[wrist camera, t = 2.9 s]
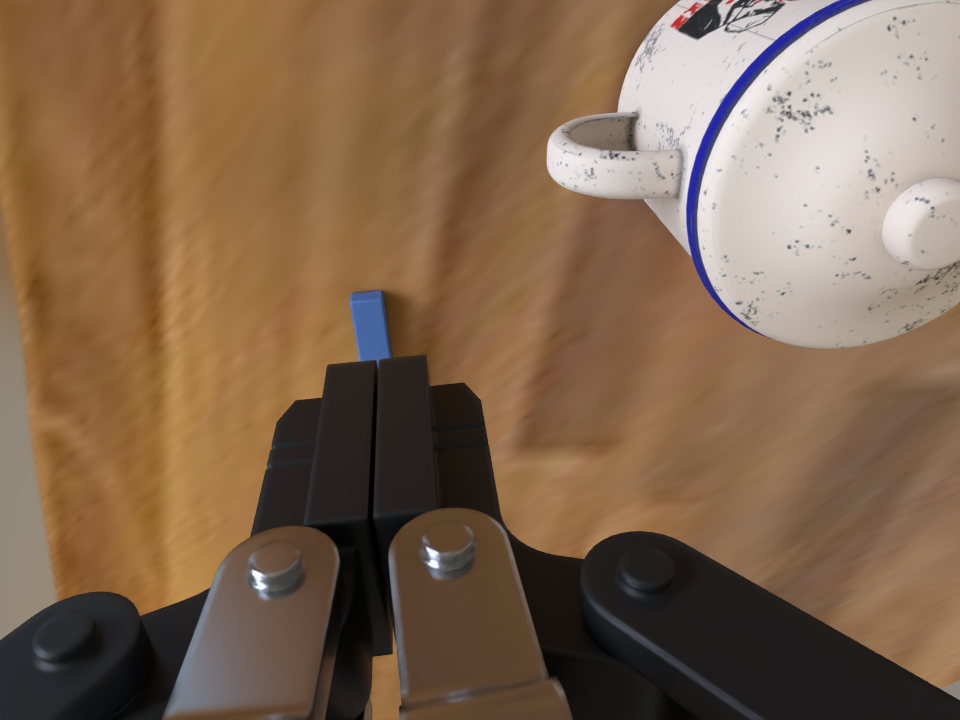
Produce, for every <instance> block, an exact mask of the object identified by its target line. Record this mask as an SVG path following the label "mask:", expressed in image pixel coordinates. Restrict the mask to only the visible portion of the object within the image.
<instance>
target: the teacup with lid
mask: <svg viewBox="0 0 960 720" xmlns="http://www.w3.org/2000/svg"><path fill="white" fill-rule="evenodd" d="M547 167H548V171H549V173H550V175H551V177H552V178H553V179H554V180H555V181H556V182H557V183H558V184H560V185H561V186H563V187H565V188H566V189H569V190H571V191H574V192H577V193H581V194H585V195H589V196H595V197H601V198H611V199H643V200H644V201H645V202H646V203H647V204H648V206H649V207H650V208H651V209H652V210H653V212H654V213H655V214H656V215H657V216H658V218H659V219H660V220H661V221H662V222H663V224H664V225H665V226H666V227H667V228H668V230H669V231H670V232H671V233H672V235H673V236H674V237H675V238H676V239H677V241H678V242H679V243H680V244H681V245H682V247H683V248H684V249H685V250H686V251H687V253H688V254H689V255H690V256H691V257H692V259H693V261H694V264H695V267H696V270H697V272H698V274H699V276H700V278H701V280H702V282H703V284H704V286H705V287H706V289H707V290H708V292H709V293H710V295H711V296H712V298H713V299H714V300H715V301H716V302H717V303H718V305H719V306H720V307H721V308H722V309H723V310H724V311H725V312H726V313H727V314H729V315H730V316H731V317H732V318H733V319H735V320H736V321H737V322H739V323H740V324H742V325H743V326H745V327H747V328H748V329H750V330H752V331H754V332H756V333H758V334H760V335H763V336H765V337H768V338H771V339H774V340H777V341H780V342H783V343H787V344H790V345H795V346H800V347H806V348H819V349H839V348H850V347H858V346H863V345H869V344H873V343H877V342H881V341H884V340H888V339H891V338H894V337H896V336H899V335H902V334H904V333H907V332H909V331H911V330H914V329H916V328H918V327H920V326H922V325H924V324H926V323H928V322H930V321H932V320H934V319H935V318H937V317H939V316H940V315H942V314H944V313H945V312H947V311H948V310H950V309H951V308H953V307H954V306H956V305H957V304H958V303H960V0H680V1H679V2H678V3H677V4H675V5H674V6H673V7H672V8H671V9H670V10H669V11H668V12H667V13H666V14H665V15H664V16H663V17H662V18H661V19H660V20H659V21H658V22H657V23H656V25H655V26H654V27H653V28H652V30H651V31H650V32H649V34H648V35H647V36H646V38H645V39H644V41H643V42H642V44H641V46H640V47H639V49H638V51H637V52H636V54H635V56H634V58H633V60H632V62H631V64H630V67H629V69H628V72H627V74H626V77H625V80H624V83H623V86H622V90H621V95H620V99H619V105H618V113H606V114H597V115H590V116H585V117H581V118H577V119H574V120H571V121H569V122H567V123H565V124H563V125H561V126H560V127H559V128H557V129H556V130H555V131H554V132H553V133H552V135H551V136H550V138H549V141H548V146H547Z"/></svg>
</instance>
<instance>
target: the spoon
mask: <svg viewBox="0 0 960 720" xmlns="http://www.w3.org/2000/svg"><path fill="white" fill-rule="evenodd" d="M350 306H351V312H352V318H353V323H354V329H355V335H356V341H357V347H358V353H359V359H360V361H368V360H376V361H377V364H378V369H379V360H380V359H386V358H392V351H391V344H390V337H389V330H388V322H387V315H386V308H385V301H384V294H383V292H382V291H371V292H361V293H353V294H351V300H350Z"/></svg>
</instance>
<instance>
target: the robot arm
mask: <svg viewBox="0 0 960 720" xmlns="http://www.w3.org/2000/svg"><path fill="white" fill-rule="evenodd" d="M267 468H268V469H266V471H265V476H264V480H263V484H262V489H261V493H260V497H259V502H258V506H257V510H256V515H255V519H254V523H253V527H252V532H251V536H250V538H248V539H246V540H245V541H243V542H242V543H240V544H239V545H238V546H236V547H235V548H234V549H233V550H232V551H231V552H230V553H229V554H228V555H227V556H226V557H225V558H224V560H223V561H222V563H221V564H220V566H219V568H218V570H217V572H216V575H215V577H214V580H213V583H212V585H211V587H210V588H209V589H207V590H205V591H203V592H201V593H200V594H198V595H195V596H193V597H191V598H188V599H186V600H183V601H180V602H178V603H175V604H172V605H169V606H167V607H164V608H161V609H158V610H156V611H153V612H150V613H148V614H145V615H142V616H140V615H139V613H138V610H137V608H136V607H135V605H134V604H133V603H132V602H131V601H130V600H129V599H127V598H126V597H124V596H122V595H119V594H115V593H111V592H90V593H85V594H80V595H76V596H73V597H69V598H66V599H64V600H61V601H59V602H57V603H54V604H53V605H51V606H49V607H47V608H45V609H43V610H42V611H40V612H39V613H37V614H36V615H34V616H33V617H31V618H30V619H28V620H27V621H26V622H24V623H23V624H22V625H21V626H19V627H18V628H16V629H15V630H14V631H12V632H11V633H10V634H8V635H7V636H5V637H4V638H3V639H1V640H0V720H372V705H371V700H370V694H371V686H372V657H373V656H381V655H390V654H393V630H394V635H395V641H396V646H397V657H398V668H399V678H400V689H401V702H402V706H399V720H960V700H958V699H957V698H955V697H953V696H951V695H950V694H947V693H946V692H944V691H943V690H941V689H939V688H937V687H936V686H934V685H932V684H930V683H929V682H927V681H925V680H923V679H922V678H920V677H918V676H916V675H914V674H913V673H911V672H909V671H907V670H906V669H904V668H902V667H900V666H899V665H897V664H895V663H893V662H892V661H890V660H888V659H886V658H885V657H883V656H881V655H879V654H878V653H876V652H874V651H872V650H871V649H869V648H867V647H865V646H864V645H862V644H860V643H858V642H857V641H855V640H853V639H851V638H850V637H848V636H846V635H844V634H843V633H841V632H839V631H837V630H835V629H834V628H832V627H830V626H828V625H827V624H825V623H823V622H821V621H820V620H818V619H816V618H814V617H813V616H811V615H809V614H807V613H806V612H804V611H802V610H800V609H799V608H797V607H795V606H793V605H792V604H790V603H788V602H786V601H785V600H783V599H781V598H779V597H778V596H776V595H774V594H772V593H771V592H769V591H767V590H765V589H764V588H762V587H760V586H758V585H756V584H755V583H753V582H751V581H749V580H748V579H746V578H744V577H742V576H741V575H739V574H737V573H735V572H734V571H732V570H730V569H728V568H727V567H725V566H723V565H721V564H720V563H718V562H716V561H714V560H713V559H711V558H709V557H707V556H706V555H704V554H702V553H700V552H699V551H697V550H695V549H693V548H692V547H690V546H688V545H686V544H685V543H683V542H681V541H679V540H677V539H674V538H672V537H669V536H666V535H663V534H658V533H654V532H644V531H635V532H625V533H620V534H617V535H613V536H610V537H608V538H606V539H604V540H602V541H601V542H599V543H598V544H596V545H595V546H594V547H593V548H592V549H591V550H590V551H589V552H588V554H587V556H586V557H585V559H579V558H572V557H565V556H558V555H553V554H548V553H544V552H541V551H538V550H536V549H533V548H531V547H529V546H527V545H525V544H524V543H522V542H521V541H519V540H518V539H517V538H516V537H515V536H513V535H512V534H511V533H510V531H509V530H508V529H507V528H506V526H505V524H504V522H503V520H502V517H501V513H500V508H499V502H498V496H497V491H496V485H495V479H494V473H493V467H492V462H491V456H490V450H489V445H488V439H487V433H486V427H485V421H484V416H483V410H482V404H481V400H480V399H479V398H478V397H477V396H476V395H475V394H474V393H473V392H472V391H471V390H470V388H469V387H468V386H467V385H466V384H465V383H455V384H446V385H436V386H430V379H429V370H428V362H427V355H426V354H425V355H415V356H405V357H396V358H386V359H380V360H379V369H378V364H377V361H376V360H368V361H359V362H349V363H339V364H329V365H328V366H327V370H326V377H325V383H324V390H323V396H322V398H315V399H305V400H296V401H295V402H294V403H293V404H292V405H291V406H290V408H289V409H288V410H287V411H286V412H285V413H284V415H283V416H282V417H281V418H280V419H279V420H278V421H277V424H276V428H275V433H274V437H273V441H272V450H270V454H269V459H268V463H267Z"/></svg>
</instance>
